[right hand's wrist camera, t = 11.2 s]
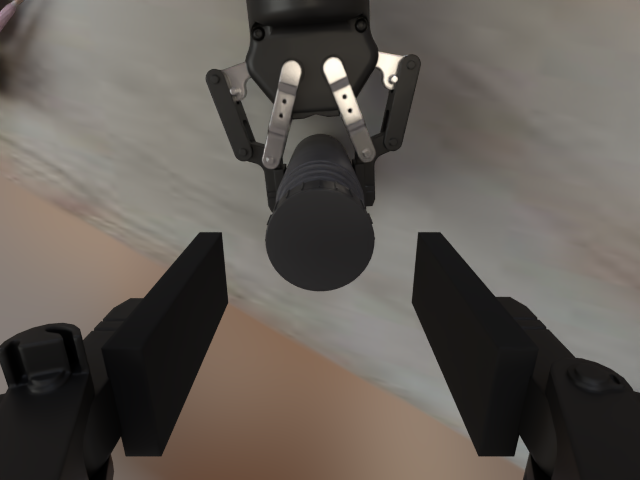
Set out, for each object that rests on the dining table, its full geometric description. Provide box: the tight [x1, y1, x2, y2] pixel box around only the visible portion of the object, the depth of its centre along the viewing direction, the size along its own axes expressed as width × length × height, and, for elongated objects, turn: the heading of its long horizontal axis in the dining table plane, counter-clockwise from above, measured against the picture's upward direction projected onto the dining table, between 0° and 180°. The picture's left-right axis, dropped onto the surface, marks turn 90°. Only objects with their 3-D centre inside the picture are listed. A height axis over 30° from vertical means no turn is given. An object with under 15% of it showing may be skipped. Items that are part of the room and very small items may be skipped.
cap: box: [265, 179, 375, 291], centre depth 17 cm, size 5×5×2 cm
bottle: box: [276, 134, 364, 203], centre depth 26 cm, size 5×5×19 cm
